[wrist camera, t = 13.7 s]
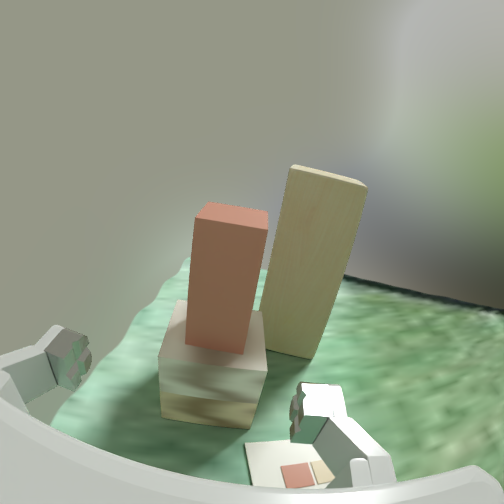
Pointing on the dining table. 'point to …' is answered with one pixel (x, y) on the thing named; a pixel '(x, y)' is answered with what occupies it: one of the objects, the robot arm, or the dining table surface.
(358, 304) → the dining table surface
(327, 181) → the tall beige pillar
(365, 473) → the robot arm
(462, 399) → the dining table surface
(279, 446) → the page
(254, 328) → the tower base
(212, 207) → the tall brick
